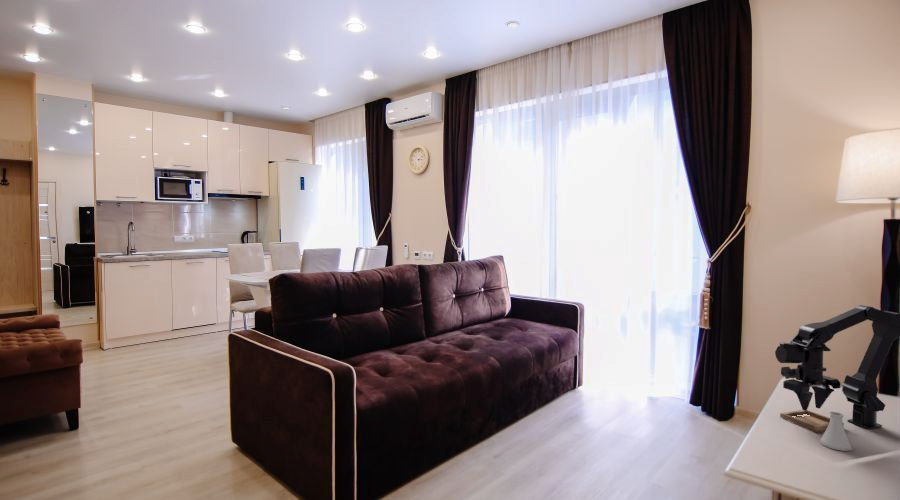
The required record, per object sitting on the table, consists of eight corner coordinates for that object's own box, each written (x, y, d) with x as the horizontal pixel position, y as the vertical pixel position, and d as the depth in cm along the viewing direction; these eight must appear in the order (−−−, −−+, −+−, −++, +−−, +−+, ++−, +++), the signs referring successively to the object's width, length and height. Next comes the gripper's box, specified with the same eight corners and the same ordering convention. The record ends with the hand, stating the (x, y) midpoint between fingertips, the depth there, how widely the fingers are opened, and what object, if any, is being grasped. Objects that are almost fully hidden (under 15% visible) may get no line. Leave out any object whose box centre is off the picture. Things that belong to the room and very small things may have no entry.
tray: (805, 415, 159) (805, 409, 159) (843, 428, 147) (843, 422, 147) (780, 419, 156) (780, 413, 156) (817, 433, 144) (817, 427, 144)
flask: (858, 452, 131) (858, 419, 131) (830, 450, 132) (831, 417, 132) (841, 441, 138) (841, 409, 138) (814, 440, 139) (815, 408, 139)
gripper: (807, 355, 161) (806, 398, 162) (768, 359, 156) (767, 403, 156) (841, 363, 151) (841, 409, 151) (801, 368, 145) (800, 415, 146)
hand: (811, 409), depth 151 cm, fingers open, 6 cm apart
